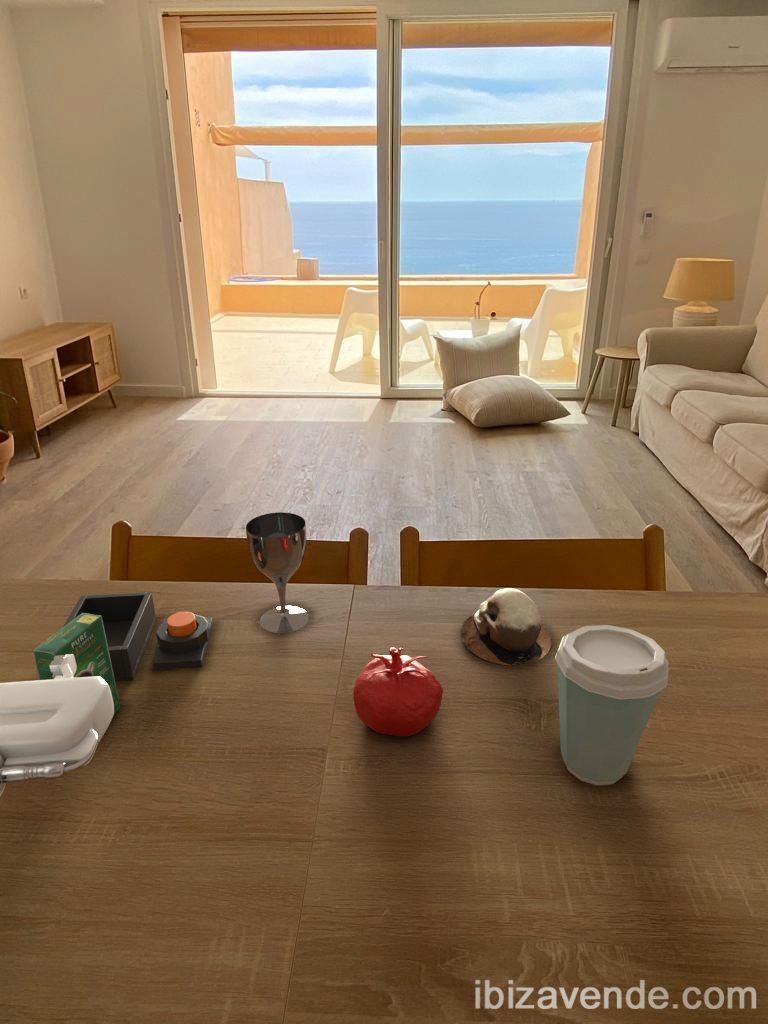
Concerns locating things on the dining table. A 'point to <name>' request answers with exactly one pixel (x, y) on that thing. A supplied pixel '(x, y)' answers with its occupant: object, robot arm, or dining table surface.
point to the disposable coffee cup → (606, 698)
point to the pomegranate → (397, 694)
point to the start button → (181, 624)
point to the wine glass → (279, 563)
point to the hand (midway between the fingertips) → (11, 664)
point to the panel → (183, 646)
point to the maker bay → (122, 627)
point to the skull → (506, 629)
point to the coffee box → (80, 651)
